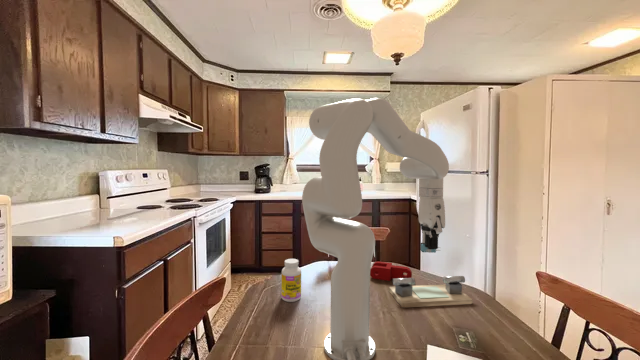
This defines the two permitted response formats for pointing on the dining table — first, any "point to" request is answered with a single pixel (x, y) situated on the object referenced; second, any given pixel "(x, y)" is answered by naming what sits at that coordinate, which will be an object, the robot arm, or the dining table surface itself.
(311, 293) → the dining table surface
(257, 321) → the dining table surface
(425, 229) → the push button
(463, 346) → the dining table surface
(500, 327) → the dining table surface
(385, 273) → the mechanical linkage
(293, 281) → the supplement bottle
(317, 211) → the robot arm
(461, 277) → the cylinder and cube
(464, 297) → the board
